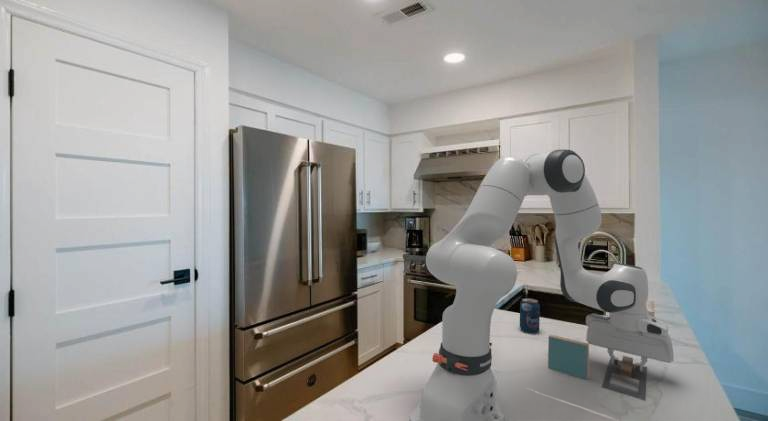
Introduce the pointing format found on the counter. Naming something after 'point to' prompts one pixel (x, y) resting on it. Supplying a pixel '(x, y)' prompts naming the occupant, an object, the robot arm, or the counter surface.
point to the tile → (568, 356)
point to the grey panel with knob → (625, 377)
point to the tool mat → (635, 375)
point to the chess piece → (651, 308)
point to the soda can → (529, 315)
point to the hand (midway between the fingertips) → (626, 367)
